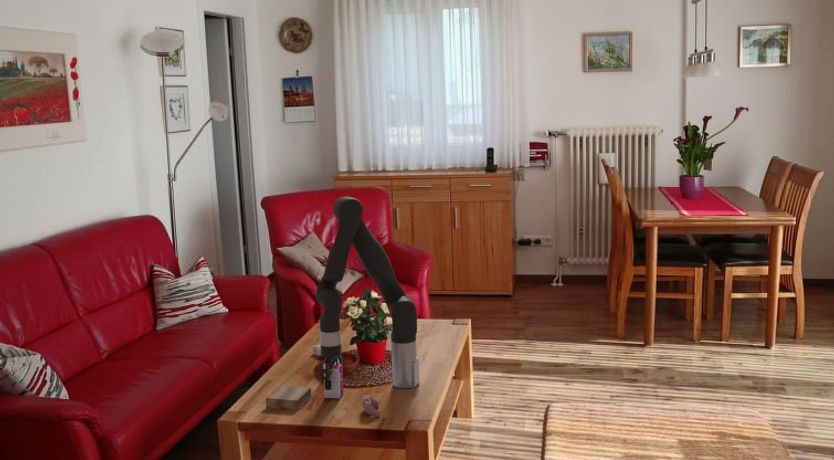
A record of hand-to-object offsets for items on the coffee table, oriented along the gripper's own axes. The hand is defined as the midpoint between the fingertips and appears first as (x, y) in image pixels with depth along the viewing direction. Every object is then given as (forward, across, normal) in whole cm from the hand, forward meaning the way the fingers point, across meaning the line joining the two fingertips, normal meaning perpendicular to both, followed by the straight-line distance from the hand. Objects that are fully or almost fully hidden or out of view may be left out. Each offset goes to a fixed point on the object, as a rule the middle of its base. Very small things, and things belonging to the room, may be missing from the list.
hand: (332, 385), depth 303 cm
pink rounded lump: (+4, -11, -18) cm, 21 cm away
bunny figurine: (+5, +44, +21) cm, 49 cm away
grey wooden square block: (+5, -8, +14) cm, 16 cm away
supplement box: (+4, 0, 0) cm, 5 cm away
